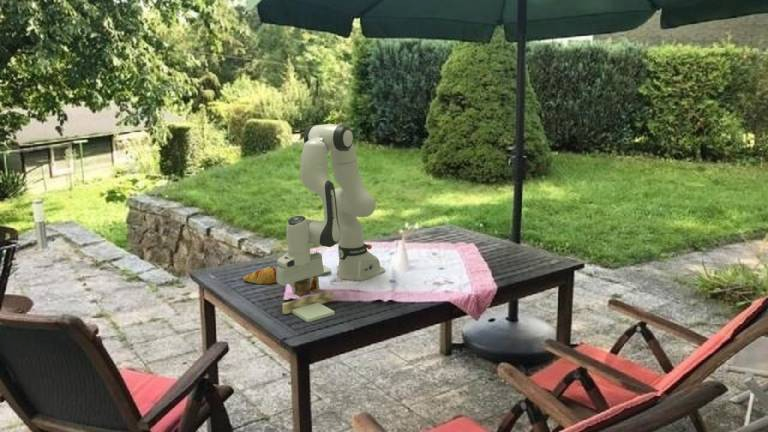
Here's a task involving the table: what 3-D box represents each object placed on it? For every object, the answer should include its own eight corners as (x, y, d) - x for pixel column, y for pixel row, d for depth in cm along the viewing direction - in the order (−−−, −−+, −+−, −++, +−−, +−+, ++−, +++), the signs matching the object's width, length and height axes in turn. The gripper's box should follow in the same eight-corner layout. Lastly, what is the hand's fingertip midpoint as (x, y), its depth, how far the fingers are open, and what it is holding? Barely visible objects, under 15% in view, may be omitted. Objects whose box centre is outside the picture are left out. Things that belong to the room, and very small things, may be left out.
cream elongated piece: (317, 255, 320) (316, 249, 319) (333, 275, 291) (333, 268, 290) (299, 257, 317) (298, 251, 316) (313, 278, 288) (313, 271, 287)
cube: (304, 290, 263) (303, 278, 261) (310, 293, 259) (309, 282, 258) (293, 293, 260) (292, 282, 259) (300, 297, 256) (299, 285, 255)
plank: (330, 299, 262) (330, 290, 261) (332, 300, 261) (332, 291, 260) (282, 313, 249) (282, 303, 248) (284, 314, 248) (284, 304, 247)
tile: (318, 305, 256) (318, 302, 256) (334, 314, 247) (334, 311, 247) (291, 312, 249) (291, 309, 249) (307, 322, 240) (307, 319, 240)
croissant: (243, 291, 282) (240, 279, 277) (244, 274, 289) (242, 262, 284) (292, 288, 284) (290, 276, 278) (292, 271, 291) (290, 259, 286)
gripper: (317, 249, 264) (319, 280, 268) (272, 261, 252) (275, 294, 256) (325, 253, 259) (327, 285, 263) (280, 265, 247) (283, 298, 251)
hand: (301, 289), depth 259 cm, fingers closed on cube, 5 cm apart
